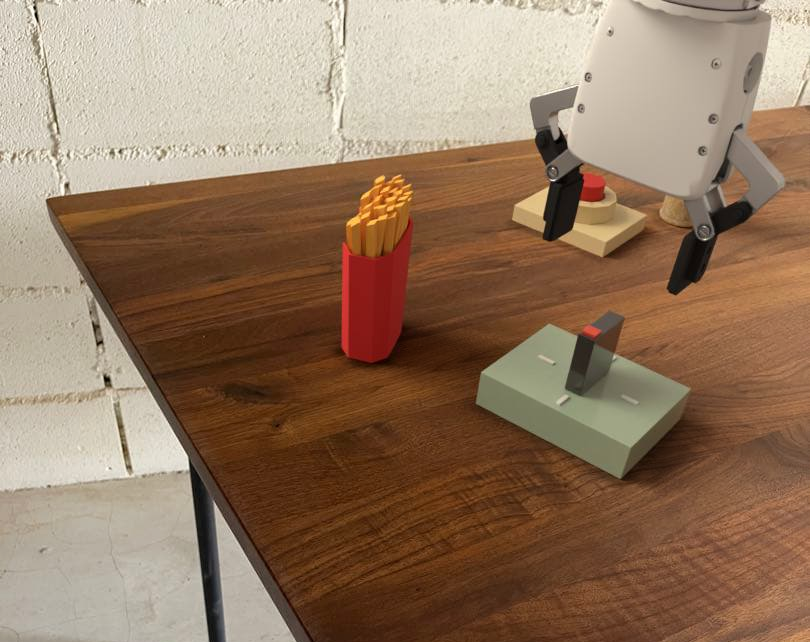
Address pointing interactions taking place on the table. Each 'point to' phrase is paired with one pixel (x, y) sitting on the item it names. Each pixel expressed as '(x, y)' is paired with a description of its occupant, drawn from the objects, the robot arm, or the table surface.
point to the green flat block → (582, 402)
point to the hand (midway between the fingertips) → (616, 260)
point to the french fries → (376, 271)
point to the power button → (592, 188)
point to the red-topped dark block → (594, 352)
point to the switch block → (587, 221)
